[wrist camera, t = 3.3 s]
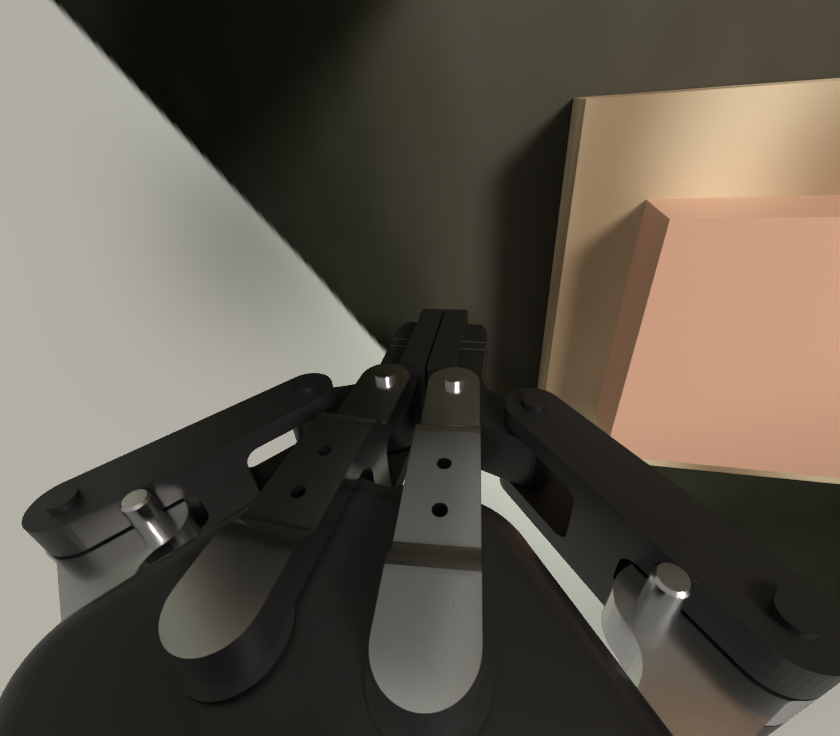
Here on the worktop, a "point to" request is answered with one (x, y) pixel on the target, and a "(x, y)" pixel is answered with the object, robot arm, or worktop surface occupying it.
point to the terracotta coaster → (731, 336)
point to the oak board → (668, 179)
